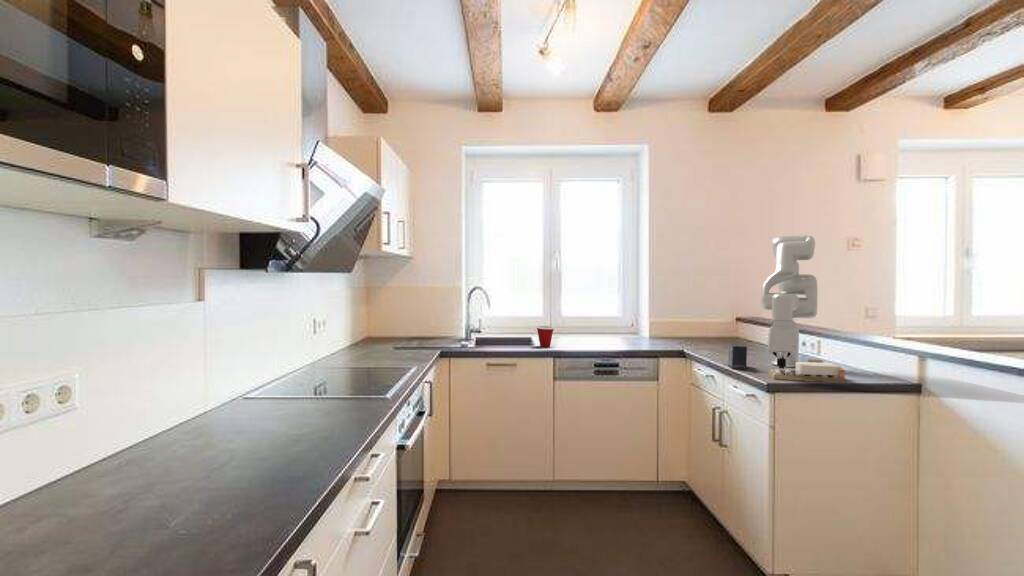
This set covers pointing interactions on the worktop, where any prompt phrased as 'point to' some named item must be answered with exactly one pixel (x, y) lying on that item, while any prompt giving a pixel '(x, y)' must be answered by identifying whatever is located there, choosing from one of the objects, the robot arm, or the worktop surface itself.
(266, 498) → the worktop surface
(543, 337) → the plastic cup
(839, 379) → the roller bed
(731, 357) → the small box
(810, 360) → the walnut block
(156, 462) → the worktop surface
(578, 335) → the worktop surface
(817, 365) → the slab
